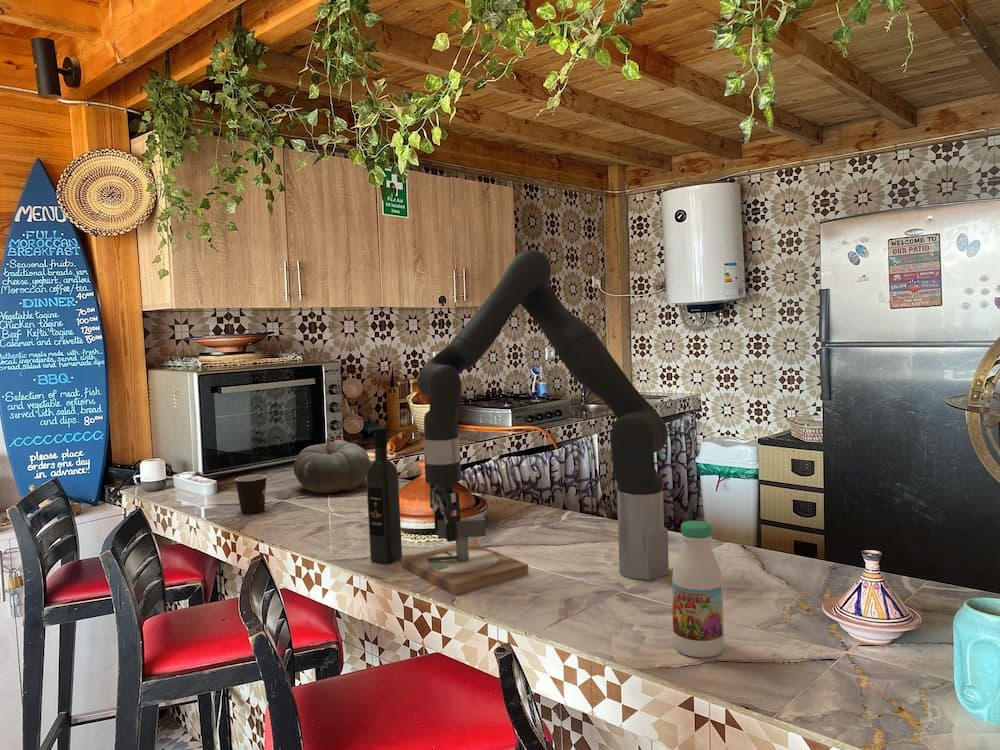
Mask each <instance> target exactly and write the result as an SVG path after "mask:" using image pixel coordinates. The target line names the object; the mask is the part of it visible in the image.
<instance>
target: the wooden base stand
mask: <svg viewBox="0 0 1000 750" xmlns="http://www.w3.org/2000/svg"><path fill="white" fill-rule="evenodd" d="M468 550H469V559H468V560H466V561H458V560H457V559H451V560H436V561H427V557H441V556H457V555H456V544H454V545H449V546H446V547H442V548H437V549H433V550H428V551H425V552H421V553H416V554H414V555H412V554H411V555H409V556H405V557H401V558H400V567H401V568H402V569H403V570H406V571H407V572H410V573H412V574H414V575H416V576H417V577H419V578H421V579H423V580H425V581H427V582H429V583H431V584H433V585H434V586H436V587H438V588H440V589H442V590H444V591H446V592H448V593H450V594H452V595H454V596H457V595H460V594H465V593H467V592H468V593H469V592H471V591H475V590H478V589H481V588H484V587H488V586H491V585H496V584H499V583H502V582H504V581H505V582H506V581H510V580H512V579H516V578H519V577H523V576H526V575H528V574H529V564H528V563H525V562H523V561H520V560H517V559H515V558H512V557H511V556H507V555H505V554H503V553H500V552H497V551H495V550H492V549H490V548H488V547H485V546H482V545H480V544H478V543H475V542H472V541H469V540H468Z"/></svg>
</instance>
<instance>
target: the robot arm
mask: <svg viewBox="0 0 1000 750" xmlns="http://www.w3.org/2000/svg"><path fill="white" fill-rule="evenodd" d="M551 277H552V267H551V261H550V260H549V259H548V257H547V256H546V255H545V254H544V253H543V252H540V251H538V250H534V249H529V250H524V251H522V252H520V253H518V254H517V255H515V256H514V258H513V260H511V263H510V264H509V266H508V267H507V269H506V270H505V272H504V274H503V275H502V277H501V279H500V281H499V282H498V283H497V285H496V286H495V288H494V289H493V291H492V292H490V295H489V296H488V297H487V298H486V300H485V302H483V304H482V305H481V306H480V308H479V309H478V310H477V311H476V313H475V314H474V315H473V316H472V317H471V318H470V319H469V320H468V322H467V323H466V324H465V325H464V326H463V327H462V328H461V329H460V331H459V332H458V333H456V335H455V337H453V339H452V340H451V341H450V343H449V344H447V346H446V347H444V348H443V349H441V350H440V351H438V353H436V354H435V355H434V356H433V357H432V358H431V359H430V360H428V362H426V364H425V365H424V366H423V367H422V368H421V369H420V372H419V373H418V375H417V388H418V389H419V391H420V392H421V393H422V394H423V395H425V396H427V397H429V410H428V411H427V412H426V413H425V414H424V418H423V430H424V431H423V432H424V445H423V459H424V477H425V479H424V480H425V482H426V484H428V485H429V504H430V505H429V507H430V509H431V510H432V514H433V517H434V518H433V519H434V530H435V531H436V532H438V524H437V520H441V519H445V527H446V539H445V540H446V541H447V542H449V543H451V542H456V540H457V522H459V521H460V520H461V518H462V517H461V509H460V508H461V505H460V493H459V492H458V491H455V490H454V484H458V483H460V482H461V480H462V468H461V467H462V466H461V464H462V463H461V462H462V461H461V446H460V442H459V427H458V426H459V425H458V424H459V423H458V414H459V410H460V404H461V398H462V397H461V396H462V380H461V379H462V378H461V377H460V374H461V373H462V372H463V371H465V370H467V369H470V368H473V367H474V366H475V365H476V364H477V363H478V362H479V360H480V359H482V357H483V356H484V355H485V353H486V352H487V351H489V349H490V348H491V346H492V345H493V344H494V343H495V341H496V340H497V338H498V337H499V335H500V333H501V332H502V331H503V328H504V327H505V324H506V323H507V322H508V321H509V318H510V317H511V315H512V314H513V313H514V312H515V310H516V308H517V307H518V306H519V305H521V307H522V308H523V309H524V310H525V311H526V312H527V313H528V315H530V317H531V318H532V319H533V320H534V321H535V322H536V324H537V326H538V327H539V328H540V330H541V331H542V333H543V334H544V336H545V337H546V340H548V342H549V344H550V346H551V347H552V348H553V350H554V352H555V353H556V354H557V355H558V357H559V360H560V361H561V362H562V363H563V364H564V366H565V368H567V370H568V372H569V373H570V374H571V376H572V377H574V379H575V380H576V382H577V381H578V383H579V384H580V385H582V386H584V388H585V389H587V390H588V391H590V392H591V393H592V394H593V395H595V396H596V397H597V398H599V399H600V400H601V401H602V402H603V403H604V404H605V405H607V407H608V408H609V409H610V410H611V412H612V413H613V414H614V416H615V418H616V420H615V421H614V423H613V424H612V427H611V433H610V453H611V454H610V455H611V466H612V474H613V477H614V479H615V482H616V491H617V498H616V499H617V528H618V529H617V532H618V533H617V535H618V536H617V537H618V539H617V540H618V564H619V565H618V569H619V573H620V575H622V576H624V577H626V578H629V579H634V580H645V581H651V580H655V579H658V578H660V577H664V576H666V575H669V572H670V570H669V569H670V567H669V561H670V560H669V530H668V528H667V527H665V525H664V524H665V523H664V522H665V520H664V519H665V518H664V517H665V516H664V481H663V477H662V476H661V474H659V473H657V471H656V465H655V464H656V463H655V453H657V452H658V451H660V450H662V448H663V447H665V445H666V443H667V440H668V436H669V435H668V428H667V426H666V423H665V421H664V419H663V418H662V416H661V415H660V414H659V413H658V411H657V410H656V409H655V408H654V407H653V406H652V405H651V404H650V403H649V401H648V400H646V398H645V397H644V396H643V395H642V394H641V393H640V392H639V390H638V389H637V388H636V387H635V386H634V385H633V383H632V382H631V381H630V379H629V378H628V377H627V375H626V373H624V371H623V369H622V368H621V366H620V365H619V364H618V363H617V361H616V360H615V359H614V357H613V356H612V354H611V353H610V352H609V350H608V348H607V347H606V346H605V345H604V343H603V341H602V339H600V338H599V336H598V335H597V333H596V332H595V331H594V330H593V328H592V327H590V326H589V325H588V324H587V323H586V322H585V321H583V320H582V319H581V318H579V317H578V316H576V315H574V314H573V313H571V312H570V311H569V310H568V309H567V308H566V307H565V306H564V305H563V303H562V301H561V300H560V298H559V297H558V296H557V294H556V292H555V290H554V289H553V288H552V285H551Z"/></svg>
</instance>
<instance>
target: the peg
mask: <svg viewBox="0 0 1000 750" xmlns="http://www.w3.org/2000/svg"><path fill="white" fill-rule="evenodd" d="M460 518H461V520H460V521H459V522H457V540H456V541H455V545H456V555H457V556H441V557H427V561H436V560H451V559H457V560H458V561H466V560H468V559H469V550H468V542H469V538H473V537H474V538H476V537H486V534H487V533H486V518H485V516H479V517H476V516H475V517H460ZM437 524H438V531H437V539H438V540H446V527H445V519H441V520H437Z"/></svg>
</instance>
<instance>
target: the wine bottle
mask: <svg viewBox="0 0 1000 750" xmlns="http://www.w3.org/2000/svg"><path fill="white" fill-rule="evenodd" d="M387 430H388V428H387V426H386V427H385V426H378V427H374V428H373V429H372V433H373V442H374V456H375V457H374V460H373V462H371V465H370V466H369V468H368V470H367V475H366V478H365V479H366V480H365V481H366V495H367V496H366V497H367V514H368V533H369V534H368V535H369V536H368V537H369V554H370V561H371V562H373V561H374V562H373V563H378V562H380V564H385V565H386V564H387V565H389V564H392V563H394V562H396V561H397V560H399V559H400V560H401V558H403V544H402V527H401V526H402V525H401V523H402V522H401V508H400V507H401V506H400V505H401V504H400V487H399V485H400V484H399V473H398V469H397V467H396V465H395V463H394V462H392V461H391V460H389V458H388V444H387V443H388V441H387V437H388V435H387V433H388V431H387Z"/></svg>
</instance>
